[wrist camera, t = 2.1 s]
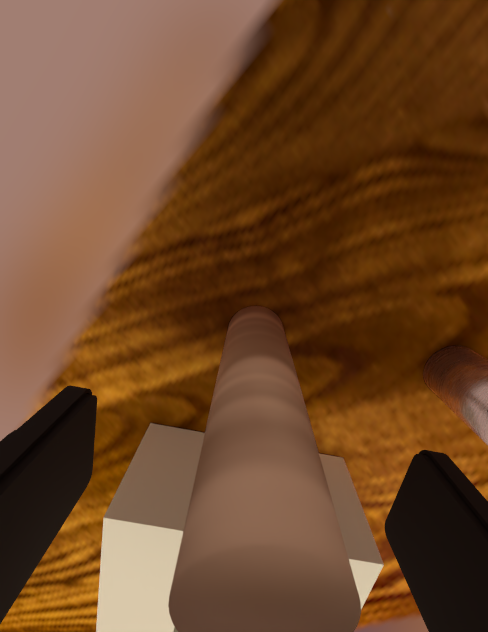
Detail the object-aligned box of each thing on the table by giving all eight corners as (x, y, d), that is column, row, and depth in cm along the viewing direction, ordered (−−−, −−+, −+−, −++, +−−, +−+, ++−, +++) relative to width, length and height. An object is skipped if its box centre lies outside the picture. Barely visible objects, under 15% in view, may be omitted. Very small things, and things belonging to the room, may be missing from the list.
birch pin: (233, 300, 16) (181, 529, 4) (289, 311, 16) (388, 563, 4) (223, 352, 17) (158, 652, 5) (276, 362, 17) (329, 679, 5)
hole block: (150, 422, 18) (103, 517, 12) (343, 457, 19) (383, 564, 13) (134, 558, 22) (93, 678, 16) (295, 584, 22) (310, 710, 17)
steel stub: (435, 340, 16) (513, 392, 11) (489, 351, 16) (588, 407, 11) (414, 388, 17) (478, 455, 12) (465, 398, 17) (548, 468, 12)
